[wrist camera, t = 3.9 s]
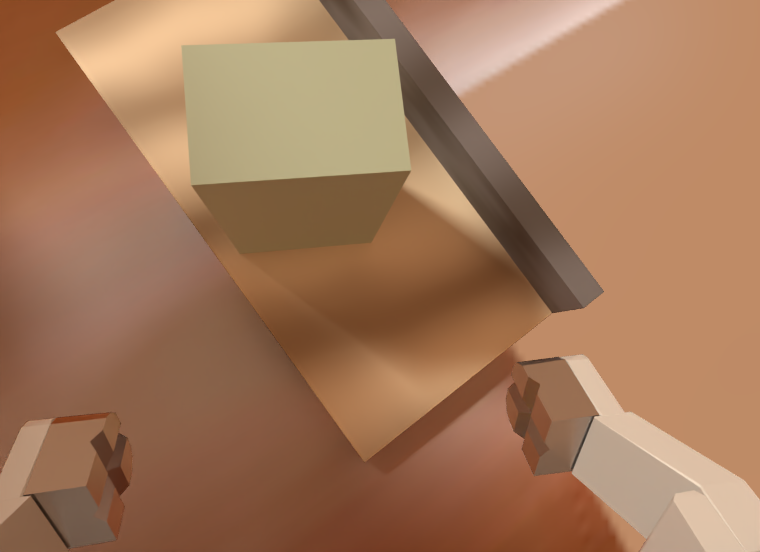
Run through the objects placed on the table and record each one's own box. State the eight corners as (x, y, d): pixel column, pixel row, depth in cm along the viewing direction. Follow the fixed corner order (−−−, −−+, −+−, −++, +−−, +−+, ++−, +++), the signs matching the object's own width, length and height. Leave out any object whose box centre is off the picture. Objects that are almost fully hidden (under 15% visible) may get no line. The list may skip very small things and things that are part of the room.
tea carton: (371, 242, 25) (411, 170, 15) (239, 253, 24) (191, 185, 14) (361, 155, 25) (394, 31, 16) (232, 163, 24) (180, 36, 15)
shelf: (70, 50, 26) (20, -13, 21) (292, -71, 28) (288, -150, 24) (361, 456, 25) (372, 478, 20) (564, 294, 27) (614, 283, 23)
